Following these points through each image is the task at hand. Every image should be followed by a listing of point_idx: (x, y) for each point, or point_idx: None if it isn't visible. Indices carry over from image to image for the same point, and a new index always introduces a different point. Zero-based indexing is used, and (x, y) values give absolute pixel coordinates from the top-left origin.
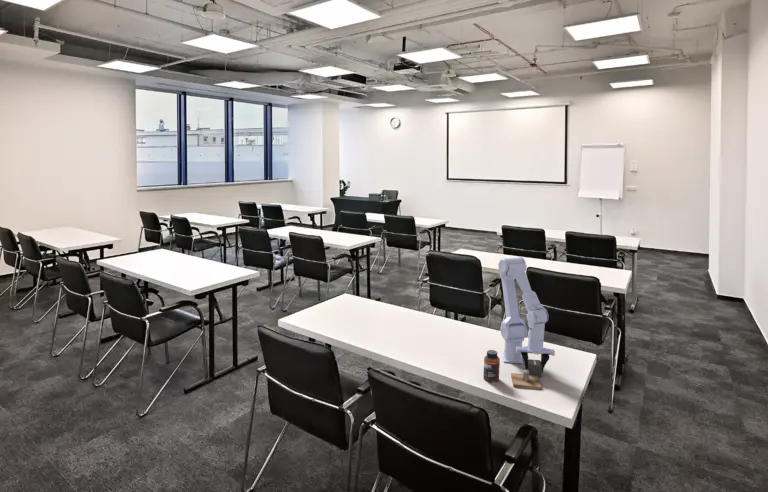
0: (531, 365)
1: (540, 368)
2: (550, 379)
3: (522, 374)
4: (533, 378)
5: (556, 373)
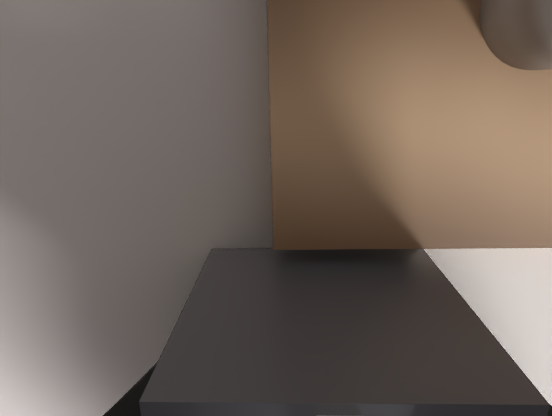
0: (443, 382)
1: (201, 340)
2: (76, 210)
3: (542, 224)
4: (368, 88)
5: (2, 407)
